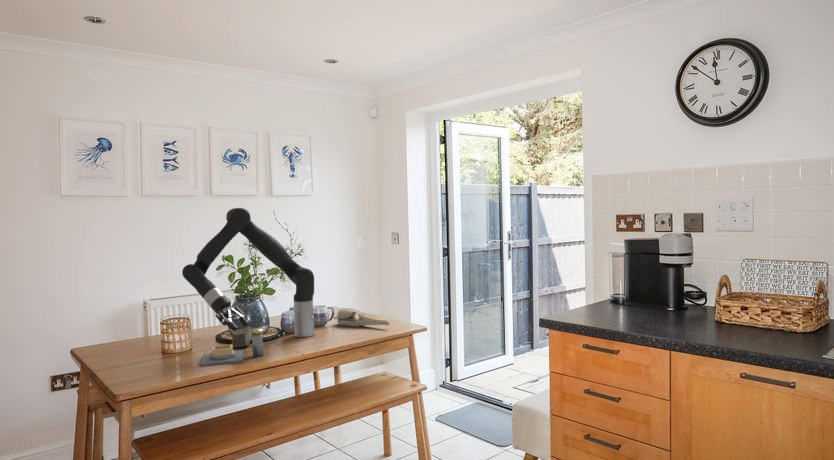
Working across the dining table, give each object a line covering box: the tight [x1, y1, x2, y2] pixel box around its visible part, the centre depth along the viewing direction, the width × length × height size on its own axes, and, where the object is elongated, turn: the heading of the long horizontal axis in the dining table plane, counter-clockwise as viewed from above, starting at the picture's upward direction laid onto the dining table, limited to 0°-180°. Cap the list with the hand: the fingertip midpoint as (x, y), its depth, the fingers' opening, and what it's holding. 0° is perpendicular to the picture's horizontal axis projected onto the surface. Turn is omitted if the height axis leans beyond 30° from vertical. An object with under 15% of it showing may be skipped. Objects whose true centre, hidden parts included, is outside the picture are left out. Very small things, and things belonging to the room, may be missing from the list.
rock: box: [231, 326, 252, 348], centre depth 248 cm, size 17×7×10 cm
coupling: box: [250, 327, 264, 358], centre depth 228 cm, size 5×5×11 cm
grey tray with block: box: [200, 343, 245, 367], centre depth 225 cm, size 16×16×5 cm
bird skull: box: [333, 307, 390, 328], centre depth 280 cm, size 8×32×10 cm, turn 62°
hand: (241, 327), depth 230 cm, fingers open, 8 cm apart
